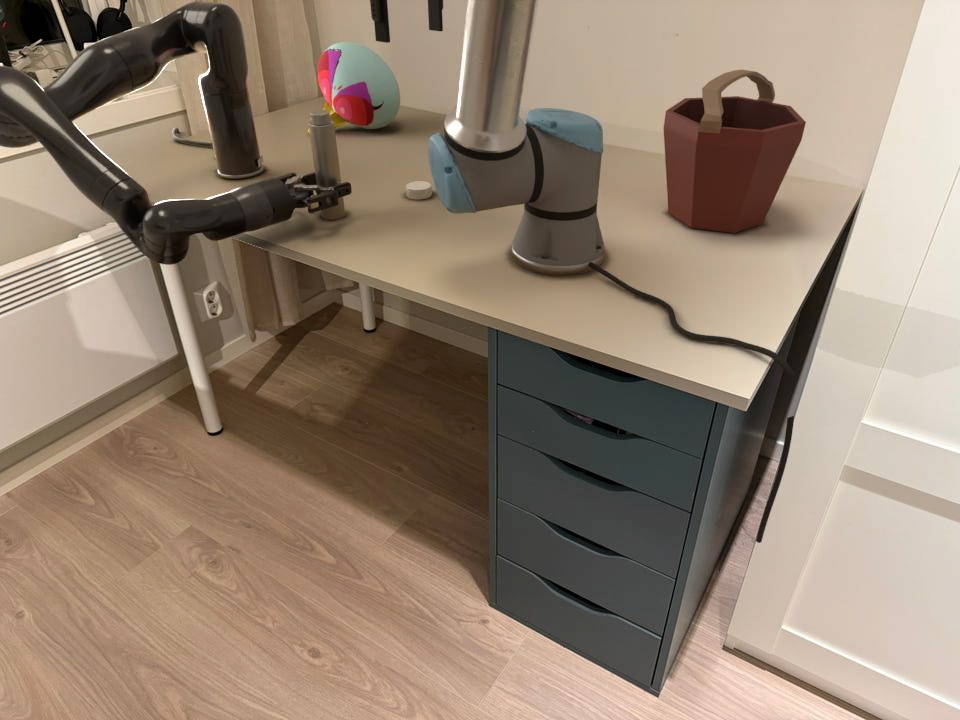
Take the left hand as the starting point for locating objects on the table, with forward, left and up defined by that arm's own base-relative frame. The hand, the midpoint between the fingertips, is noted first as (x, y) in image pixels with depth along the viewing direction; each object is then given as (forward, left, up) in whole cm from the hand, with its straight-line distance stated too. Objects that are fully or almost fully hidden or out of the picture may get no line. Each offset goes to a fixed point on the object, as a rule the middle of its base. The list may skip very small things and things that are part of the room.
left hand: (336, 181), depth 130 cm
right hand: (+4, +16, +23) cm, 29 cm away
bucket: (+51, +48, -6) cm, 70 cm away
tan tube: (0, -2, -6) cm, 6 cm away
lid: (+4, +16, -4) cm, 17 cm away
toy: (-43, +35, -6) cm, 56 cm away
